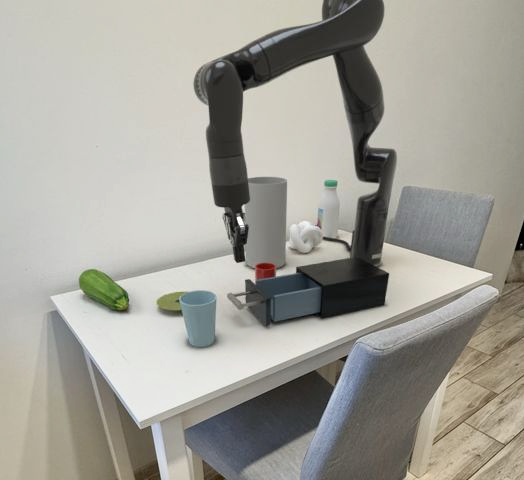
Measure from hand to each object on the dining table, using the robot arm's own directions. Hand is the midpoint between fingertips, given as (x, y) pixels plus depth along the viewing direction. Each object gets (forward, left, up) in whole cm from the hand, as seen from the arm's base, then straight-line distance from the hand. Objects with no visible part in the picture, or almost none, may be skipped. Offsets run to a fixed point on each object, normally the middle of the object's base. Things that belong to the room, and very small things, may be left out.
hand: (239, 261), depth 95 cm
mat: (-12, -12, -14) cm, 22 cm away
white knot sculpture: (-39, +38, -14) cm, 56 cm away
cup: (+7, -12, -14) cm, 20 cm away
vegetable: (-23, -28, -14) cm, 39 cm away
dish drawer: (+2, +9, -13) cm, 16 cm away
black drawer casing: (+2, +26, -14) cm, 30 cm away
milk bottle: (-49, +54, -14) cm, 74 cm away
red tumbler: (-10, +11, -14) cm, 21 cm away
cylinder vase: (-32, +21, -14) cm, 41 cm away
